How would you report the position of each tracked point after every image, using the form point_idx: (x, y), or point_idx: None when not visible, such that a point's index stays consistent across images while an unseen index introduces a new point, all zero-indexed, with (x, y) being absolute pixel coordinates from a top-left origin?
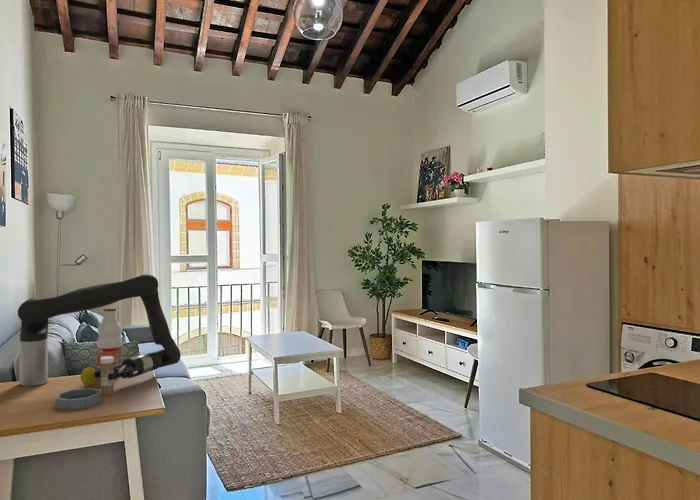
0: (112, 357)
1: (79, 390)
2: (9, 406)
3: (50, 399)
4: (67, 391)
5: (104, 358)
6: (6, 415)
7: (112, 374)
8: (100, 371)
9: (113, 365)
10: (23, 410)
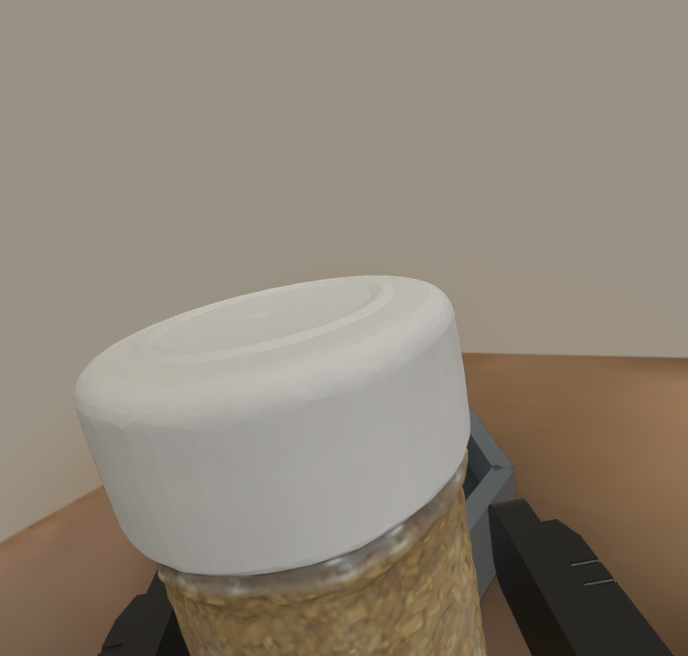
0: (94, 361)
1: (471, 504)
2: (590, 361)
3: (608, 456)
4: (484, 440)
5: (250, 295)
6: (461, 353)
7: (145, 621)
8: (533, 588)
9: (181, 625)
10: (478, 377)
